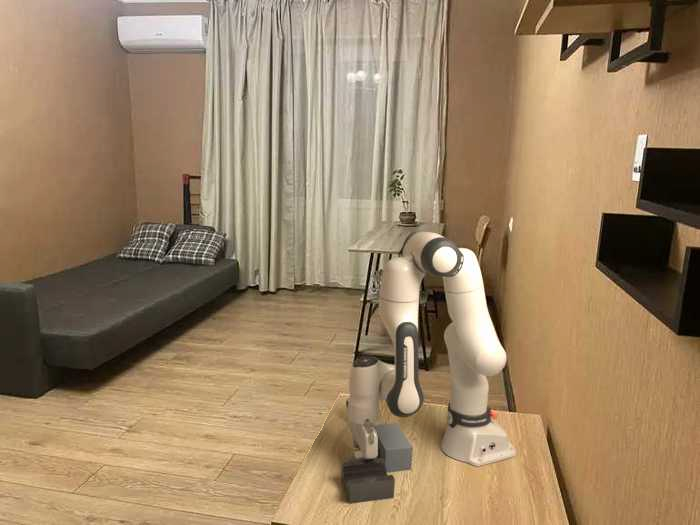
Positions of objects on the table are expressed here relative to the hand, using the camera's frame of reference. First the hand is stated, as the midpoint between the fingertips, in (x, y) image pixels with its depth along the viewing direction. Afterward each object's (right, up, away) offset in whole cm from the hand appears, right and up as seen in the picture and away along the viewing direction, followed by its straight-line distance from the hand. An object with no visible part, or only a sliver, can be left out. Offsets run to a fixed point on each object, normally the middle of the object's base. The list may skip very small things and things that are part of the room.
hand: (361, 455), depth 153 cm
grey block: (+9, -2, +3) cm, 9 cm away
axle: (+4, -2, +1) cm, 5 cm away
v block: (+1, -4, -12) cm, 13 cm away
